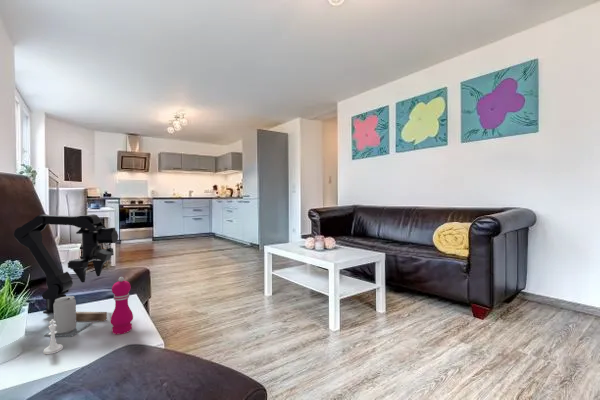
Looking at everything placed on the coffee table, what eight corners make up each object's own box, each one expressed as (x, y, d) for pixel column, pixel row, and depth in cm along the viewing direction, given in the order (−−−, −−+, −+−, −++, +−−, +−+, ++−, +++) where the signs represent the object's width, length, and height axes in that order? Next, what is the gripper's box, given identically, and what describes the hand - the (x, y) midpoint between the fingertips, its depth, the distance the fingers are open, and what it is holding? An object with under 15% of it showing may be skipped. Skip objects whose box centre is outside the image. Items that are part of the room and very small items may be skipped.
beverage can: (65, 335, 106) (64, 302, 106) (49, 334, 107) (48, 301, 107) (80, 327, 113) (80, 295, 112) (65, 326, 114) (64, 294, 113)
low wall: (54, 320, 120) (54, 313, 120) (58, 318, 122) (57, 311, 121) (104, 321, 119) (104, 313, 119) (106, 319, 121) (106, 312, 121)
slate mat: (44, 336, 107) (44, 334, 107) (66, 323, 117) (66, 322, 117) (71, 336, 107) (71, 335, 107) (91, 324, 117) (91, 322, 117)
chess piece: (50, 346, 100) (49, 316, 100) (66, 345, 100) (65, 316, 100) (39, 354, 95) (38, 323, 95) (55, 353, 96) (55, 322, 95)
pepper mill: (109, 336, 107) (108, 280, 106) (111, 328, 113) (110, 275, 112) (133, 332, 110) (132, 278, 109) (133, 324, 116) (132, 273, 116)
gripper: (93, 247, 122) (94, 286, 122) (121, 240, 140) (122, 273, 141) (66, 247, 122) (67, 285, 122) (98, 240, 141) (98, 273, 141)
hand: (91, 279), depth 132 cm, fingers open, 9 cm apart
